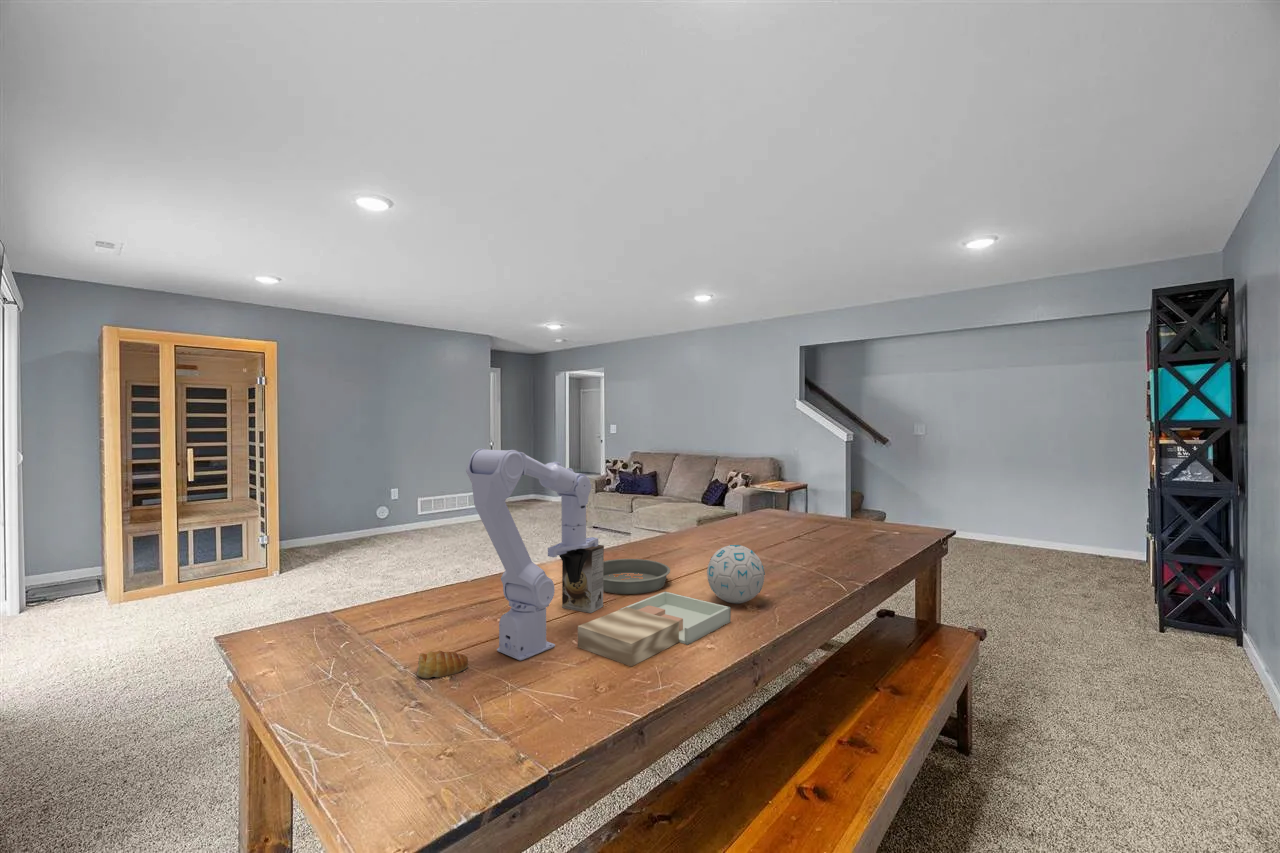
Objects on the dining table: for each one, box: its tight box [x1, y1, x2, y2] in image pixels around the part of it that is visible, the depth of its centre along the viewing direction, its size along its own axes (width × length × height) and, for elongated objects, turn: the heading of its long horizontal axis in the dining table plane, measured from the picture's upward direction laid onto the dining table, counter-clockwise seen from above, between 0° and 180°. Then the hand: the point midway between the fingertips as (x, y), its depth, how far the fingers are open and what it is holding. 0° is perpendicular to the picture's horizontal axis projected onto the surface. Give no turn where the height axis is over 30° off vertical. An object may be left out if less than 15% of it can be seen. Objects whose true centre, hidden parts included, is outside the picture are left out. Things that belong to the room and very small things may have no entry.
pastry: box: [416, 650, 469, 680], centre depth 111 cm, size 9×7×4 cm
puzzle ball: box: [706, 544, 766, 605], centre depth 153 cm, size 15×15×15 cm
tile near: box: [661, 614, 683, 631], centre depth 131 cm, size 5×5×2 cm
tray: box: [618, 591, 732, 646], centre depth 137 cm, size 18×20×4 cm
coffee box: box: [561, 544, 605, 614], centre depth 148 cm, size 9×6×16 cm
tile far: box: [638, 605, 665, 616], centre depth 137 cm, size 5×5×2 cm
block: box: [577, 606, 680, 668], centre depth 124 cm, size 16×15×4 cm
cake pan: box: [603, 558, 671, 595], centre depth 170 cm, size 25×25×4 cm
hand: (574, 581), depth 135 cm, fingers closed
